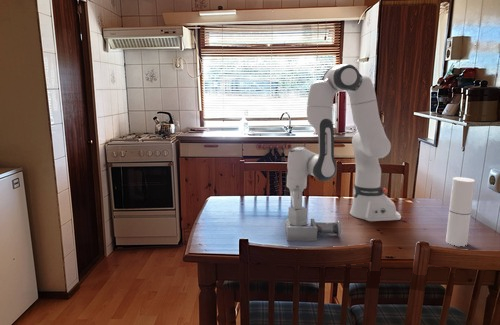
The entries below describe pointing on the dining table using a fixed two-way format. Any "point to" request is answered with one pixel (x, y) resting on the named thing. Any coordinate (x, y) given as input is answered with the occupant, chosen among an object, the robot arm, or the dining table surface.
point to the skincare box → (297, 216)
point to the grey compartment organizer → (311, 230)
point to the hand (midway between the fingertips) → (295, 212)
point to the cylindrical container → (460, 211)
